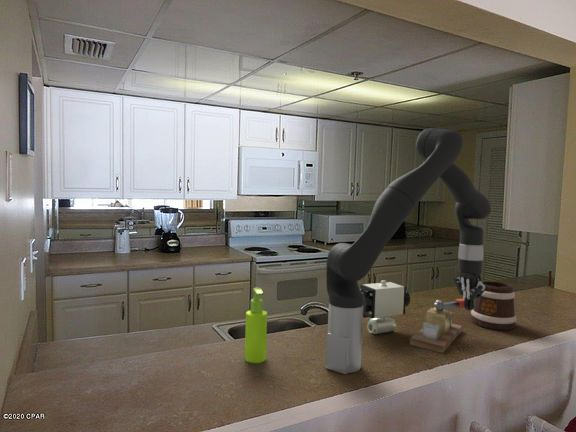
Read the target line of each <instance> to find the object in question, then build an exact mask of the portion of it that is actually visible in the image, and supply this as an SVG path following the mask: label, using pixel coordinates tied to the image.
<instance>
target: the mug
mask: <svg viewBox="0 0 576 432" xmlns="http://www.w3.org/2000/svg"><path fill="white" fill-rule="evenodd" d="M481 282H482V283H483V285H486V286H487V289H486V290H485V291H484V292H483V294H482V295H481V296H480V297H479V298H475V299H474V308H473V310H469V311H470V314H471V317H470V319H471V320H470V321H472V322H473V324H475V325H476V326H479V327H482V328H485V329H490V330H494V331H511V330H512V329H514V328H516V322H517V316H516V314H515V300H514V299H515V297H516V293H515V292H514V289H513V287H512V286H511V285H510V284H508V283H504V282H500V281H499V282H498V281H490V280H489V281H487V280H484V281H481ZM462 297H463V296H462ZM462 299H464V297H463V298H462Z"/></svg>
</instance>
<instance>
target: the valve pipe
mask: <svg viewBox="0 0 576 432" xmlns="http://www.w3.org/2000/svg"><path fill="white" fill-rule="evenodd" d="M425 315H426V317H425V322H423V323H422V328H423V332H422V338H425V339H429V340H433V341H438V338H439V337H440V336H445V335H446V334H447V333H448V332H449V327H451V324H453V323H452V322H453V321H452V320H453V313H452V312H451V310H448V309H443V311H442V312H439V311H435V310H434V307H430V308H429V309H427V311H426V314H425Z"/></svg>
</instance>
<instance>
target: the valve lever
mask: <svg viewBox="0 0 576 432" xmlns="http://www.w3.org/2000/svg"><path fill="white" fill-rule="evenodd" d="M433 306H434V307H433V308H434V310H435V311H439V312H442V311H443V310H448V309H455V308H459V309H465V307H464V299H463V298H455V299H454V300H452V301H445V302H443V301H442V300H441V299H436V300H435V302H434V304H433Z"/></svg>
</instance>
